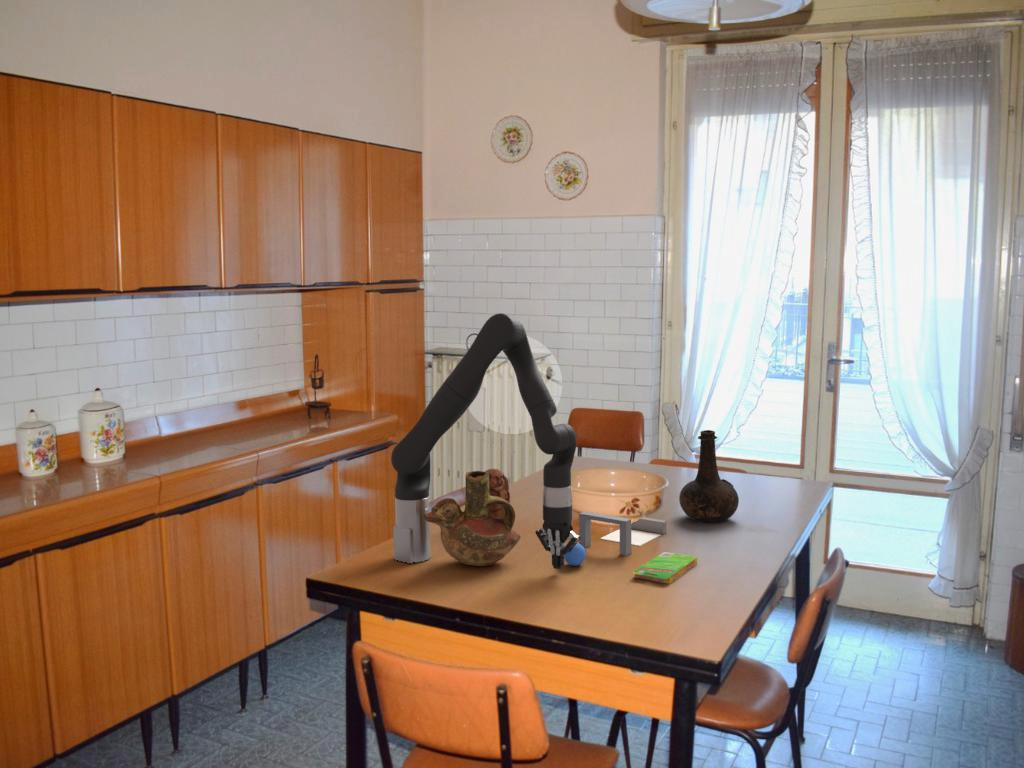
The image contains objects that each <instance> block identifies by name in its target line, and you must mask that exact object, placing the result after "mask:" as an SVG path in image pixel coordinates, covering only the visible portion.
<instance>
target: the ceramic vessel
mask: <svg viewBox="0 0 1024 768" xmlns="http://www.w3.org/2000/svg"><path fill="white" fill-rule="evenodd" d="M464 504H465V505H464V510H462V508H461V506H460V505H459V504H458V502H457V501H456V500H455V499H454V498H453V497H452V498H451V497H446V498H442V499H440V500H439V501H437V502H436V504H435V505H434V506H432V507H431V510H430V511H429V513H427V514H425V515H424V517H425V520H426V521H427V522H430V523H431V524H434V525H437V526H439V527H440V541H441V543H442V546H443V548H444V550H445V552H446V553H447V554H448V555H449V556H451V557H452V558H453V559H454V560H455V561H456V562H457V561H458V562H459V563H461V564H464V565H468V566H474V567H475V566H476V567H486V566H490V565H493V564H496V563H497V562H499V561H501V560H503V559H504V557H506V556H507V555H508V554H509V553H510V552H511V551H512V550H513V549H514V548H515V547H516V545H517V544H518V543H519V541H520V539H521V534H519V533H518V532H516V531H515V530H513V527H514V524H515V521H516V511H515V509H514V507H513V505H512V504H511V502H510V503H509V502H508V501H506V500H505V499H503V498H500V497H496V496H490V494H489V473H488V472H485V471H481V470H472V471H467V472H466V474H465V503H464ZM493 504H499V505H501V506H502V507H503V508H504V510H505V516H504V517H503V518H497V517H494V516H493V515H491V513H490V507H491V505H493Z"/></svg>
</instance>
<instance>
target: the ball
mask: <svg viewBox="0 0 1024 768" xmlns="http://www.w3.org/2000/svg"><path fill="white" fill-rule="evenodd" d="M586 557H587V552H586V548H584V547H583V546H582V545H580V544H579V542H578V543H577V544H576V545H575V546H574V548H573V549H572V550H571V552H569V553H566V554H564V562H565V563H567V564H568V565H570V566H573V567H575V566H577V567H578V566H579V565H580V566H581V564H583V563H584V561H585V560H586Z"/></svg>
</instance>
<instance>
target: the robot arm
mask: <svg viewBox="0 0 1024 768" xmlns="http://www.w3.org/2000/svg"><path fill="white" fill-rule="evenodd" d="M502 352H503V353H504V355H505V357H507V359H508V360H509V362H510V364H511V366H512V368H513V371H514V374H515V376H516V377H515V378H516V381H517V386H518V391H519V393H520V397H521V399H522V401H523V403H524V404H523V405H524V406H525V407H526V410H527V412H528V414H529V416H530V419H531V424H532V430H533V436H534V438H535V439H534V440H535V442H536V445H537V447H538V448H539V450H541V452H543V453H544V454H546V455H552V457H551V459H550V460H549V461H548V462H546V463H545V464H544V466H543V471H542V472H543V475H542V476H543V487H542V488H543V489H542V520H543V523H542V527H541V528H539V529H536V530H535V535H536V537H537V538H538V540H539V541H540V543H541V545H542V548H544V550H545V551H546V552H549V553H550V554H551V565H552V567H553V569H554V570H561V569H562V568H563V567H564V565H565V559H564V554H566V553H569V552H571V550H572V549H573V548H574V546H575V545H576V544H577V543H578V544H579V540H580V538H581V537H580V536H579V534H576V533H575V532H574V528H573V525H572V520H573V492H572V472H571V470H572V467H573V466H572V465H573V464H574V463H573V462H574V458H575V453H576V449H577V443H578V442H577V435H576V432H575V430H574V428H573V427H572V426H571V425H570V424H567V423H560V424H556V425H555V424H553V421H552V417H554V416H555V415H556V414H557V412H558V411H557V409H558V408H557V406H556V403H555V402H554V399H553V397H552V395H551V393H550V391H549V389H548V387H547V385H546V383H545V381H544V379H543V377H542V375H541V372H540V370H539V368H538V365H537V363H536V360H535V358H534V355H533V351H532V349H531V345H530V343H529V339H528V335H527V332H526V329H525V327H524V324H523V323H522V322H521V321H520V320H519V319H517V318H516V317H514V316H511V315H509V314H507V313H499V312H498V313H495V314H493V315H492V316H490V317H489V318H488V319H487V320H485V323H484V324H483V325H482V327H481V328H480V330H479V332H478V334H477V335H476V337H475V339H474V341H473V342H472V344H470V347H469V349H468V350H467V352H466V353H465V354H464V356H462V357H461V359H460V361H459V362H458V363H457V365H456V366H455V367H454V368H453V370H452V371H451V372H450V374H449V375H448V377H447V378H446V379H445V380H444V382H443V383H442V384H441V385H440V387H439V388H438V389H437V391H436V393H435V394H434V395H433V397H432V398H431V400H430V401H429V402H428V404H427V406H426V407H425V409H424V411H423V412H422V415H421V416H420V417H419V420H418V421H417V422H416V423H415V425H414V426H413V427H412V429H410V431H408V433H407V434H406V435H405V436H404V437H403V438H402V439H401V440H400V441H399V442H398V443H397V444H396V445H395V446H394V447H393V449H392V450H391V451H392V452H391V456H390V463H391V466H392V468H393V470H395V472H396V474H397V476H396V483H395V485H394V486H395V487H394V507H395V509H394V510H395V511H394V513H395V525H394V526H393V528H392V530H393V560H394V559H395V560H394V561H397V560H398V561H397V562H401V561H402V562H403V563H405V562H407V563H406V564H410V563H411V564H414V563H413V562H415V563H422V562H425V560H426V561H428V560H430V558H431V529H430V528H431V527H430V526H431V525H430V523H431V522H427V521H426V520H425V517H424V515H425V514H427V513H429V512H430V486H431V452H432V450H433V448H434V447H435V445H436V444H437V443H438V441H439V440H440V439H441V438H442V437H443V435H444V434H445V433H446V432H448V430H450V428H452V427H453V426H454V425H455V424H456V423H457V422H458V421H459V420H460V418H461V417H462V416H463V415H464V414H465V412H467V410H468V409H469V407H470V406H471V405H472V403H474V401H475V400H476V398H477V396H478V395H479V392H480V391H481V390H480V389H481V387H482V385H483V381H484V378H485V375H486V372H487V370H488V369H489V367H490V366H491V364H492V363H493V362H494V361H495V359H496V358H497V357H498V355H500V353H502ZM421 561H422V562H421ZM402 562H401V563H402Z"/></svg>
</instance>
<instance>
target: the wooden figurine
mask: <svg viewBox="0 0 1024 768" xmlns="http://www.w3.org/2000/svg"><path fill="white" fill-rule="evenodd" d="M484 472H488V473H489V494H490V496H496V497H500V498H503V499H505V500H506V501H508V502H509V503H510V504H511V493H510V486H509V479H508V478H507V476H505V474H504V472H503V471H501V470H500V469H497V468H489V469H487V470H485V471H484ZM490 513H491V515H493V516H494V517H497V518H503V517H504V516H505V510H504V508H503V507H502V506H501V505H499V504H493V505H491V507H490Z"/></svg>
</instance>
